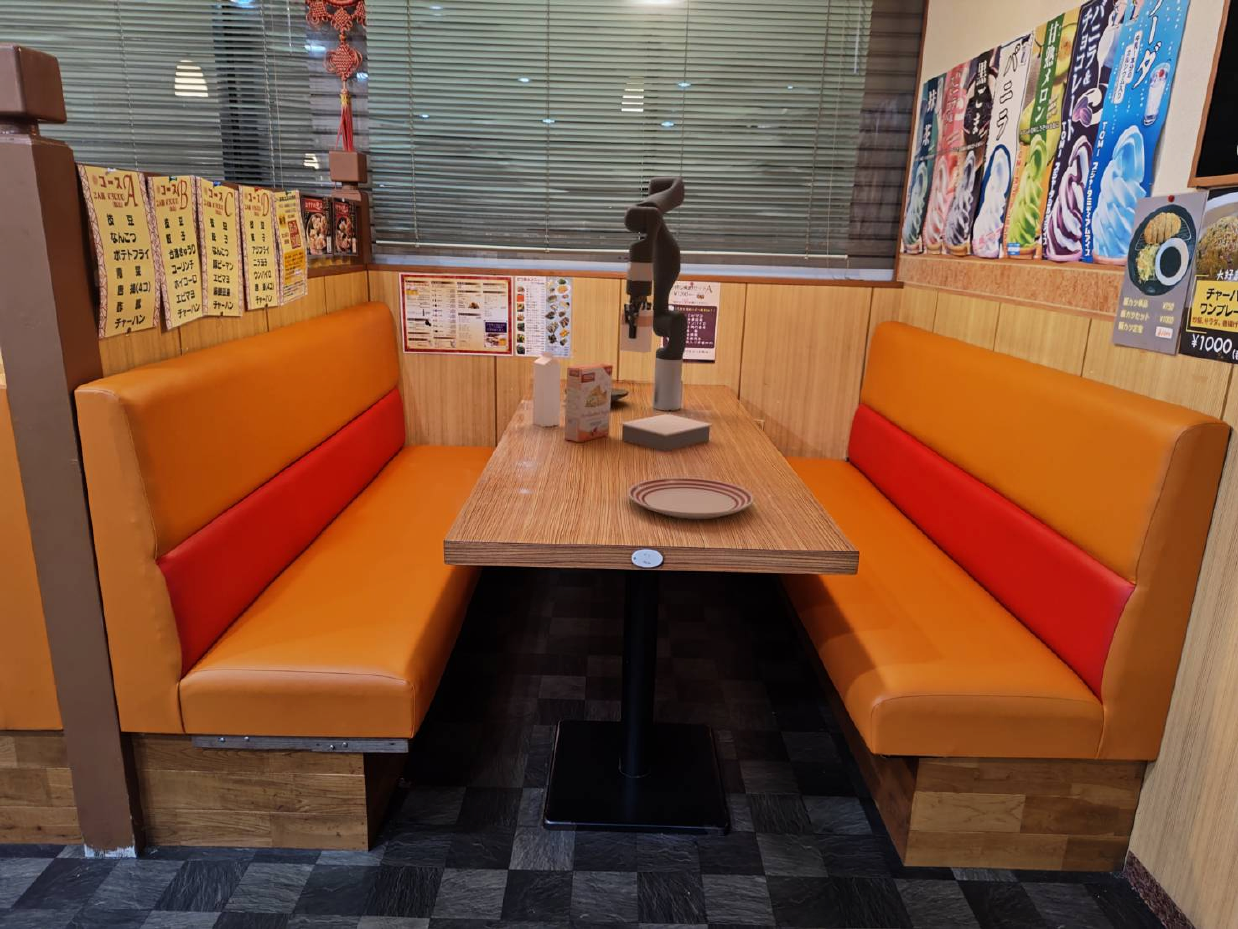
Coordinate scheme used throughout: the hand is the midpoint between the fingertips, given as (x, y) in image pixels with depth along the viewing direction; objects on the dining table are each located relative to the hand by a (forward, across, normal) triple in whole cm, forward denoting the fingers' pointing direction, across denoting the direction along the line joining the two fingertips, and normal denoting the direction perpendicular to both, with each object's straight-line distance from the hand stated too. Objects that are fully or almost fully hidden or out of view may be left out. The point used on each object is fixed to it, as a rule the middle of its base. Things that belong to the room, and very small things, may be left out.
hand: (636, 337), depth 242 cm
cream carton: (+4, 0, 0) cm, 4 cm away
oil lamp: (+28, -30, -29) cm, 50 cm away
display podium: (+28, +7, +15) cm, 32 cm away
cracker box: (+28, +18, -5) cm, 34 cm away
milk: (+28, +11, -24) cm, 38 cm away
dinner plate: (+29, +58, +44) cm, 79 cm away
